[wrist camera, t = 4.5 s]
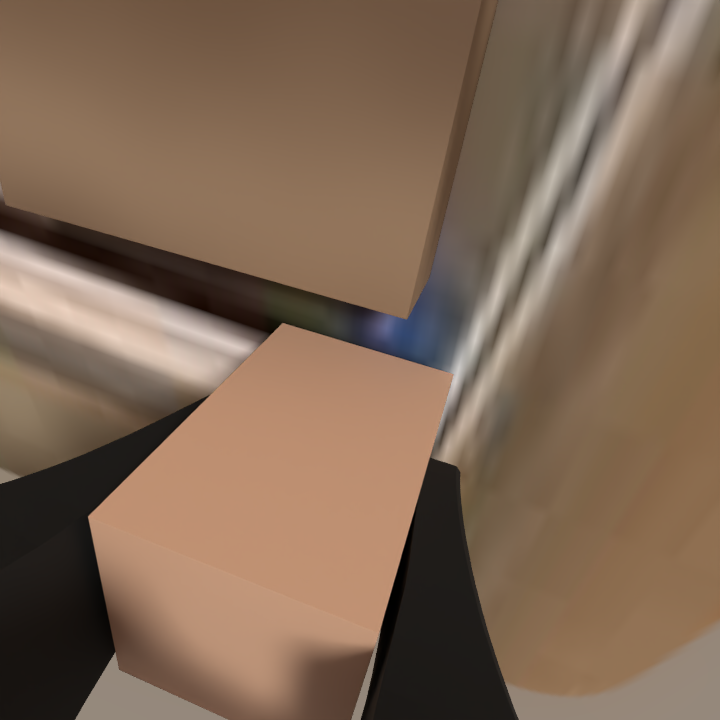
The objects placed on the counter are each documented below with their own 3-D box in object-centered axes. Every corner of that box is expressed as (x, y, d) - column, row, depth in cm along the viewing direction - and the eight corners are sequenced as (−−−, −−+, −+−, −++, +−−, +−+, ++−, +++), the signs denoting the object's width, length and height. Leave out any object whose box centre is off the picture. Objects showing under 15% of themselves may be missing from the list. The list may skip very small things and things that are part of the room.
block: (414, 500, 13) (334, 767, 8) (272, 451, 14) (118, 670, 9) (453, 374, 11) (379, 633, 6) (282, 323, 12) (88, 516, 7)
